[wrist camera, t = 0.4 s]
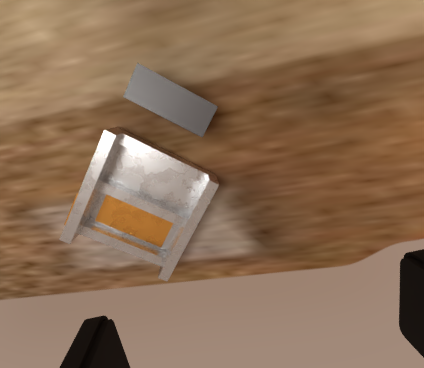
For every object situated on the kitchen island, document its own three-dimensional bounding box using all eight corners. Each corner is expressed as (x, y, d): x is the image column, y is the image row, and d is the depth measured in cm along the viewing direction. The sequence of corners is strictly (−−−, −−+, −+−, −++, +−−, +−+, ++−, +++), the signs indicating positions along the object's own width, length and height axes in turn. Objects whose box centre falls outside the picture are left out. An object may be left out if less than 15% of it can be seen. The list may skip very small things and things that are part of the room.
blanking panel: (137, 99, 37) (123, 97, 29) (149, 72, 36) (137, 62, 29) (200, 132, 39) (202, 137, 31) (212, 107, 38) (218, 106, 30)
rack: (75, 220, 41) (57, 238, 35) (115, 125, 38) (102, 128, 32) (170, 259, 44) (167, 281, 39) (215, 174, 41) (219, 185, 35)
